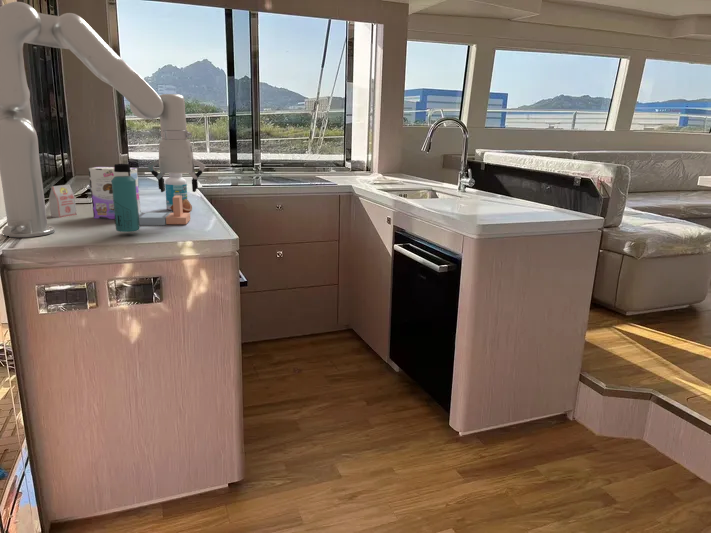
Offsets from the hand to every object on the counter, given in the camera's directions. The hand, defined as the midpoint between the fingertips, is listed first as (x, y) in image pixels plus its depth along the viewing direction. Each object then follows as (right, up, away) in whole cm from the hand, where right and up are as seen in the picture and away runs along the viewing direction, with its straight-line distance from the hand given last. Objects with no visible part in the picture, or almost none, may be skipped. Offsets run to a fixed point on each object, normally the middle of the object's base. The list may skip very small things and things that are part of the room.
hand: (178, 191), depth 170 cm
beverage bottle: (-9, -15, -17) cm, 24 cm away
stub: (-1, -9, +2) cm, 10 cm away
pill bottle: (-9, -3, +26) cm, 28 cm away
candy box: (-22, -8, +7) cm, 25 cm away
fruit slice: (-5, -6, +17) cm, 19 cm away
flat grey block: (-9, -10, +1) cm, 14 cm away
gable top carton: (-41, -7, +8) cm, 42 cm away
